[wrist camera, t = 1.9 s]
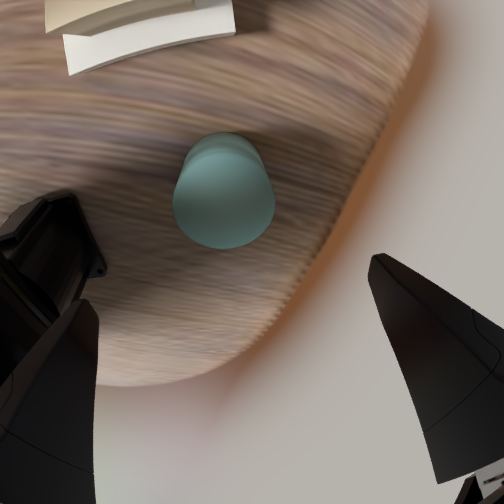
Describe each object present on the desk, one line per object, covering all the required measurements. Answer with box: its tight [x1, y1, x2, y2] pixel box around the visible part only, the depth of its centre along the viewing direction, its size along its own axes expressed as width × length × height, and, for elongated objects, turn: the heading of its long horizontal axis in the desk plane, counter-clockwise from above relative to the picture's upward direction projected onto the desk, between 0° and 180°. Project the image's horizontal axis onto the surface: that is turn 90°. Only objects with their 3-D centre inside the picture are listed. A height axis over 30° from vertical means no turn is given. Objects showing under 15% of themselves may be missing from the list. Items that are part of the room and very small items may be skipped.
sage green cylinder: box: [172, 132, 276, 249], centre depth 14 cm, size 4×4×4 cm
